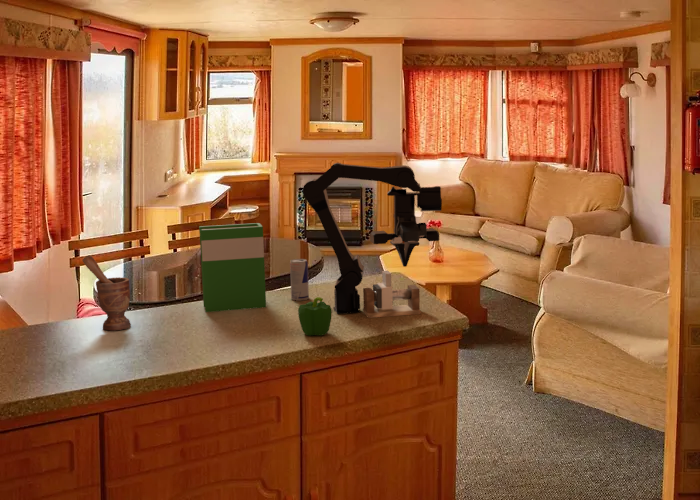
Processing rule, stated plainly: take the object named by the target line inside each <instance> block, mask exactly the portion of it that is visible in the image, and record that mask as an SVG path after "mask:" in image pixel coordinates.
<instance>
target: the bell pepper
mask: <svg viewBox="0 0 700 500" xmlns="http://www.w3.org/2000/svg"><path fill="white" fill-rule="evenodd" d="M318 301H319V302H318ZM297 309H298V310H297V313H298V319H299V320H298V321H299V323H300V327H301V330H302V332H303V333H304V335H306V336H308V337H309V336H311V335H312V336H324V335H327V334H328V333H329V330H330V327H331V322H332V321H331V320H332V308H331V305H329V304H327V303H326V302H325V301H324V298H322V297H315V298H314V299H313V301H309V302H307V303H303V304H300V305H299V306H298V308H297Z"/></svg>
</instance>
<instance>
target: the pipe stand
mask: <svg viewBox="0 0 700 500" xmlns="http://www.w3.org/2000/svg"><path fill="white" fill-rule="evenodd" d="M362 292H363V293H362V294H363V307H362V311H363V313H364V314H365V316H366V317H367V318H380V317H382V318H383V317H394V316H395V317H397V316H408V315H411V316H412V315H420V314H421V307H420V304H421V303H420V302H421V301H420V288H419V287H418V286H417V285H415V284H408V285H407V288H402V289H392V297H393V301H405V300H407V304H399V305H393V309H384V310H382V309H381V308H379V309H378V308H377V307H376V306H375V305H374V302H377V291H373V288H371V287H363V290H362Z"/></svg>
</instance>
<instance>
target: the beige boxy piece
mask: <svg viewBox="0 0 700 500" xmlns="http://www.w3.org/2000/svg"><path fill="white" fill-rule="evenodd" d="M381 272H382V273H381V275H382V277H381V278H382V281H381V282H377V283H376V284H377V285H378V286H379V287H380V288H381V289H382V308H381V309H382V310H384V309H393V306H394V305H393V304H394V303H393V297H392V290H393V286H392V273H391V272H390V271H388V270H382V271H381Z"/></svg>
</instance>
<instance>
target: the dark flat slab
mask: <svg viewBox="0 0 700 500" xmlns="http://www.w3.org/2000/svg"><path fill="white" fill-rule="evenodd" d="M372 290H373V291H377V302H374V307H377V308H378V309H379V308H382V289H381V288H380V287H379V286H378V285H377V283H375V284H372Z"/></svg>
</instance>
